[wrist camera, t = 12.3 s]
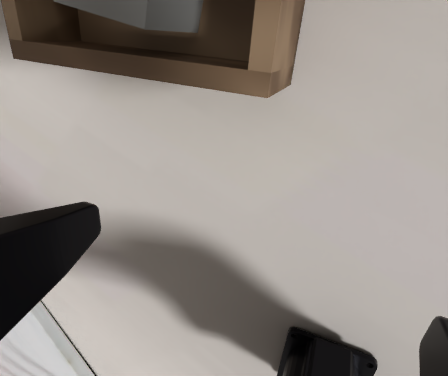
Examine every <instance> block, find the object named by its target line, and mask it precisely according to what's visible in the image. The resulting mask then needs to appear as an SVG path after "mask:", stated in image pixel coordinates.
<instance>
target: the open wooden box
mask: <svg viewBox="0 0 448 376" xmlns="http://www.w3.org/2000/svg"><path fill="white" fill-rule="evenodd" d="M1 3H2V8H3V12H4V17H5V21H6V26H7V31H8V35H9V40H10V45H11V49H12V54H13V58H14V59H20V60H27V61H33V62H39V63H46V64H52V65H59V66H65V67H71V68H78V69H84V70H91V71H97V72H104V73H110V74H116V75H123V76H129V77H136V78H142V79H148V80H155V81H161V82H168V83H174V84H181V85H187V86H193V87H200V88H206V89H213V90H219V91H225V92H232V93H238V94H245V95H251V96H258V97H264V98H268V97H270V96H272V95H274V94H275V93H277V92H279V91H281V90H282V89H284V88H286V87H287V86H289V85H291V79H292V73H293V67H294V62H295V56H296V50H297V44H298V39H299V33H300V27H301V21H302V15H303V10H304V4H305V0H203V6H202V12H201V17H200V23H199V29H198V33H191V32H175V31H159V30H145V29H141V28H138V27H135V26H132V25H129V24H125V23H122V22H119V21H116V20H112V19H109V18H106V17H103V16H99V15H96V14H93V13H90V12H87V11H83V10H80V9H77V8H74V7H70V6H67V5H64V4H61V3H58V2H54V1H53V0H1Z"/></svg>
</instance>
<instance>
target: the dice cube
mask: <svg viewBox="0 0 448 376" xmlns="http://www.w3.org/2000/svg"><path fill="white" fill-rule="evenodd" d="M53 1H54V2H58V3H61V4H64V5H67V6H70V7H74V8H77V9H80V10H83V11H87V12H90V13H93V14H96V15H99V16H103V17H106V18H109V19H112V20H116V21H119V22H122V23H125V24H129V25H132V26H135V27H138V28H141V29H145V30H159V31H175V32H191V33H198V29H199V23H200V17H201V12H202V6H203V0H53Z"/></svg>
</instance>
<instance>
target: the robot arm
mask: <svg viewBox="0 0 448 376" xmlns="http://www.w3.org/2000/svg"><path fill="white" fill-rule="evenodd" d="M100 231H101V223H100V215H99V209H98V207H97V206H96V205H94V204H91V203H88V202H79V203H74V204H69V205H64V206H59V207H54V208H49V209H44V210H39V211H33V212H28V213H23V214H18V215H13V216H8V217H3V218H0V341H1V340H2V339H3V338H4V337H5V336H6V335H7V334H8V333H9V332H10V331H11V330H12V329H13V328H14V327H15V326H16V325H17V324H18V323H19V322H20V321H21V320H22V319H23V318H24V317H25V316H26V315H27V314H28V313H29V312H30V311H31V310H32V309H33V308H34V307H35V306H36V305H37V304H38V303H39V302H40V301H41V300H42V299H43V297H44V296H45V295H46V294H47V293H48V292H49V291H50V290H51V289H52V288H53V287H54V286H55V285H56V284H57V283H58V282H59V281H60V280H61V279H62V278H63V277H64V276H65V275H66V274H67V273H68V272H69V271H70V269H71V268H72V267H73V266H74V265H75V263H76V262H77V261H78V260H79V259H80V257H81V256H82V255H83V254H84V253H85V251H86V250H87V249H88V248H89V247H90V245H91V244H92V243H93V242H94V240H95V239H96V238H97V237H98V235H99V234H100ZM419 359H420V376H448V318H445V317H442V316H437V317H435V318H434V319H433V321H432V323H431V324H430V326H429V328H428V330H427V331H426V333H425V335H424V337H423V338H422V340H421V343H420V349H419ZM376 370H377V360H376V359H375V358H374V357H372V356H369V355H367V354H364V353H361V352H359V351H356V350H354V349H351V348H348V347H346V346H343V345H340V344H338V343H335V342H332V341H330V340H327V339H325V338H322V337H319V336H317V335H314V334H311V333H309V332H306V331H304V330H301V329H298V328H295V327H291V328H290V329H289V332H288V336H287V339H286V343H285V347H284V351H283V354H282V358H281V362H280V366H279V370H278V373H277V376H374V374H375V372H376Z"/></svg>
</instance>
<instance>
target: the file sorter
mask: <svg viewBox="0 0 448 376" xmlns="http://www.w3.org/2000/svg"><path fill="white" fill-rule="evenodd" d="M0 376H95V375H94V374H93V373H92V371H91V370H90V368H89V367H88V366H87V364H86V363H85V362H84V360H83V359H82V357H81V356H80V355H79V353H78V352H77V351H76V349H75V348H74V346H73V345H72V344H71V342H70V341H69V340H68V338H67V337H66V336H65V334H64V333H63V331H62V330H61V329H60V327H59V326H58V325H57V323H56V322H55V320H54V319H53V318H52V316H51V315H50V314H49V312H48V311H47V309H46V308H45V307H44V305H43V304H42V303H41V301H40V302H39V303H38V304H37V305H36V306H35V307H34V308H33V309H32V310H31V311H30V312H29V313H28V314H27V315H26V316H25V317H24V318H23V319H22V320H21V321H20V322H19V323H18V324H17V325H16V326H15V327H14V328H13V329H12V330H11V331H10V332H9V333H8V334H7V335H6V336H5V337H4V338H3V339H2V340H1V341H0Z"/></svg>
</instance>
